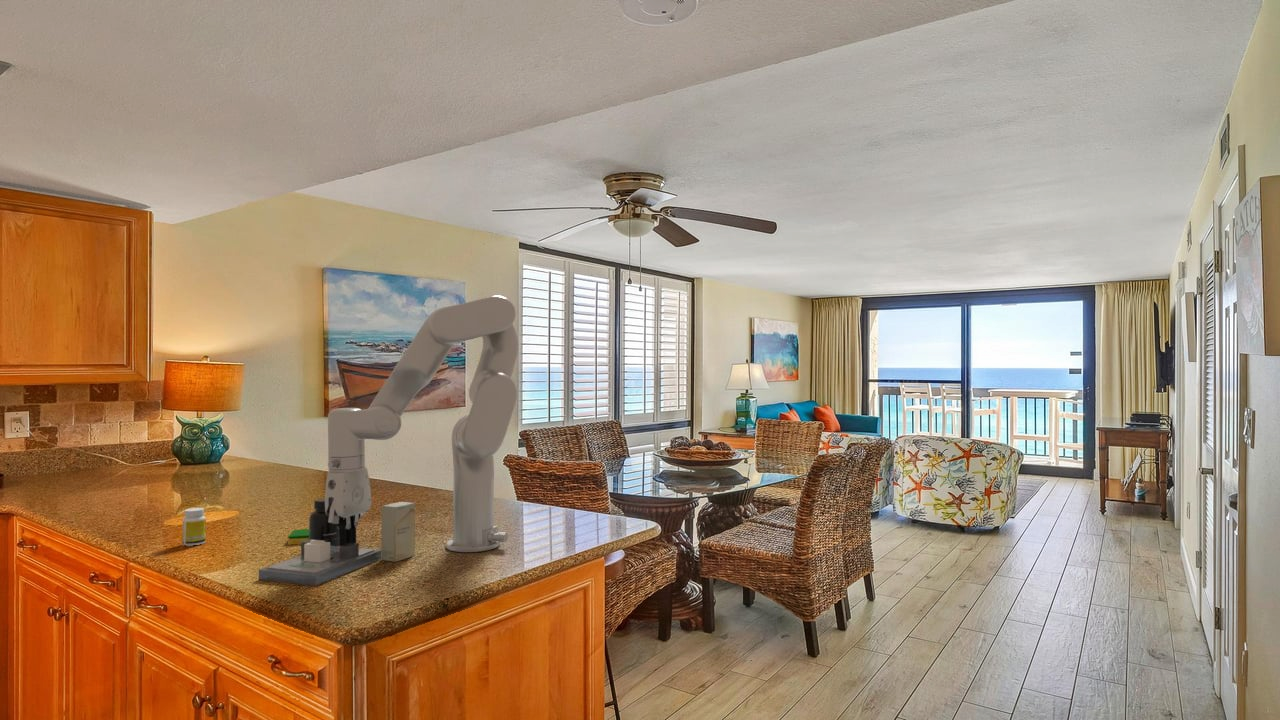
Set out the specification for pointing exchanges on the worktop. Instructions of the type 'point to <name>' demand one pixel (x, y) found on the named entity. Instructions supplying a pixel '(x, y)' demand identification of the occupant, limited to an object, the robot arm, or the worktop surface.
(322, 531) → the supplement bottle
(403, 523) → the skincare box
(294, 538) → the dish sponge
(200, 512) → the supplement bottle
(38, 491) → the worktop surface
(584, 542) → the worktop surface
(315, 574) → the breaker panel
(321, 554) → the block
